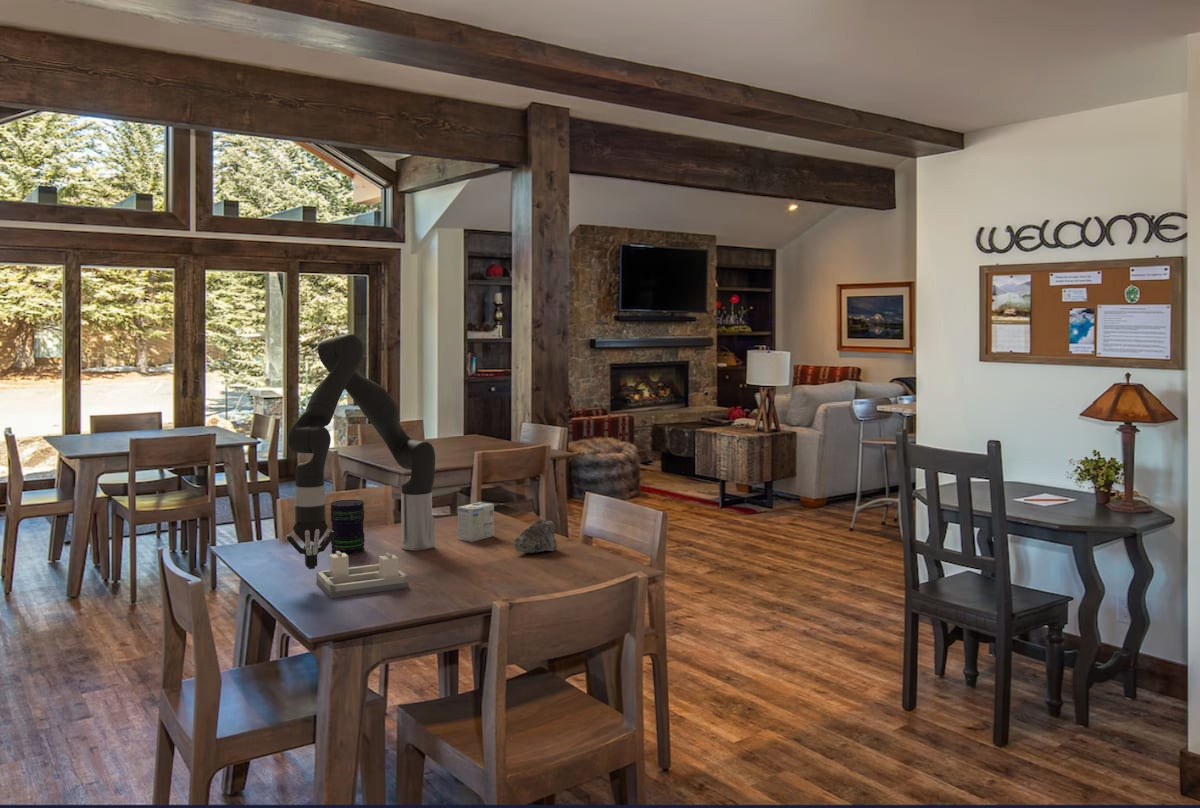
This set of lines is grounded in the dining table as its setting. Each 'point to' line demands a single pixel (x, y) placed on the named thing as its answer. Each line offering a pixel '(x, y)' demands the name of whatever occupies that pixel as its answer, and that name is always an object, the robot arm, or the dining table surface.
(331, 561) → the tab
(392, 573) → the tab
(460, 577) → the dining table surface
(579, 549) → the dining table surface
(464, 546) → the dining table surface
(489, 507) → the light bulb box
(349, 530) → the storage jar
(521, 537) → the mineral rock
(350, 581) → the switch bank
